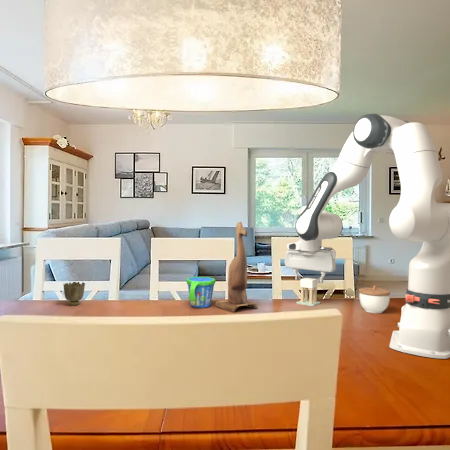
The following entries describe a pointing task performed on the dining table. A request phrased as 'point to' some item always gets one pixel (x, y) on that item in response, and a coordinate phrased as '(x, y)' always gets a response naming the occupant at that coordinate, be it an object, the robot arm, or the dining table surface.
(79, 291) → the cup
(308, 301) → the mat
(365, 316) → the dining table surface
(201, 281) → the snack cup
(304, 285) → the stool
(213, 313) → the dining table surface
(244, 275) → the bird sculpture
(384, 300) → the lidded jar
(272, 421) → the dining table surface
